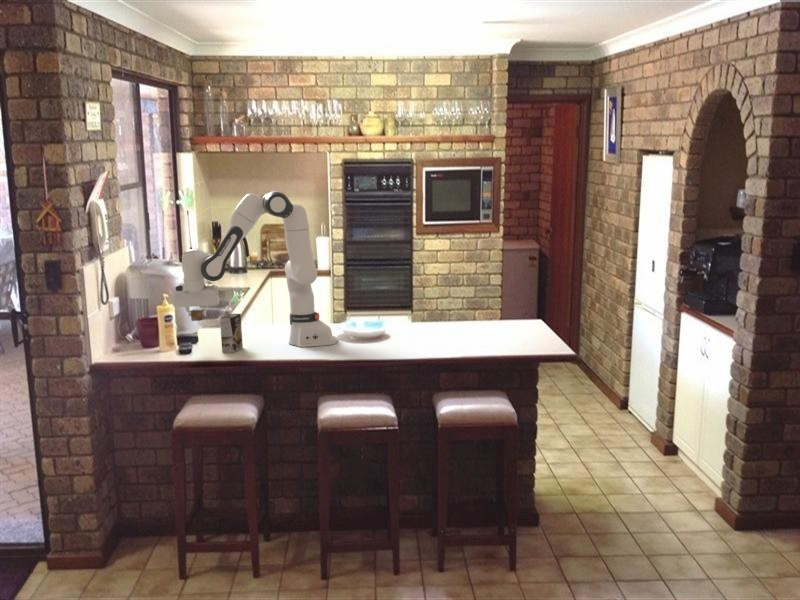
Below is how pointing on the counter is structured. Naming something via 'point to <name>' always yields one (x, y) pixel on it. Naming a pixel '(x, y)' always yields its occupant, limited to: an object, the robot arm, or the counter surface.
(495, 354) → the counter surface
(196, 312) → the walnut block
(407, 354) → the counter surface
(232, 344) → the coffee box
